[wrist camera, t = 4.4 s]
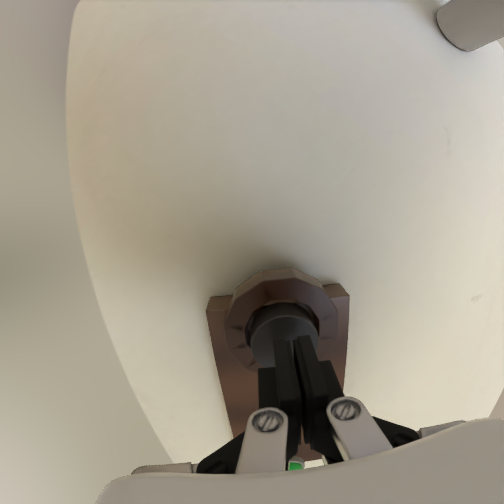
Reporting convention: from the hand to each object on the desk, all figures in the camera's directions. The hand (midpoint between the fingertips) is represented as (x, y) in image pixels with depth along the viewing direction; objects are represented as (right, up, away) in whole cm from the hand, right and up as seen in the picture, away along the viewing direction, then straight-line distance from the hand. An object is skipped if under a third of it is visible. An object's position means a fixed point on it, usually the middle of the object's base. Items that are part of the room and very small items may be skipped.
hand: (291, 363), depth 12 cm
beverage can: (+16, +25, +2) cm, 30 cm away
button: (0, +1, +4) cm, 4 cm away
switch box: (+1, -5, +9) cm, 10 cm away
